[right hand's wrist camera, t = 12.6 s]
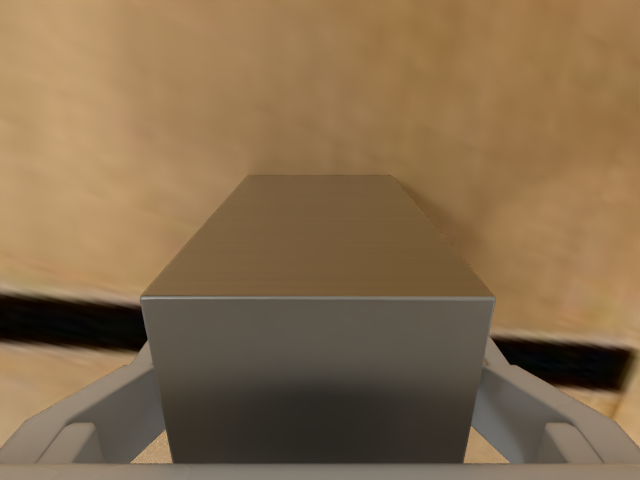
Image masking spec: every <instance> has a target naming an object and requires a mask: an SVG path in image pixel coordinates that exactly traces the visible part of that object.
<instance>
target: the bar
mask: <svg viewBox="0 0 640 480" xmlns="http://www.w3.org/2000/svg"><path fill="white" fill-rule="evenodd" d="M495 301H496V299H495V296H494V295H493V294H492V292H491V291H490V290H489V289H488V288H487V287H486V285H485V284H484V283H483V282H482V281H481V280H480V278H479V277H478V276H477V275H476V274H475V273H474V271H473V270H472V269H471V268H470V267H469V265H468V264H467V263H466V262H465V261H464V260H463V258H462V257H461V256H460V255H459V254H458V253H457V251H456V250H455V249H454V248H453V247H452V246H451V244H450V243H449V242H448V241H447V240H446V239H445V237H444V236H443V235H442V234H441V233H440V232H439V230H438V229H437V228H436V227H435V226H434V225H433V223H432V222H431V221H430V220H429V219H428V218H427V216H426V215H425V214H424V213H423V212H422V211H421V209H420V208H419V207H418V206H417V205H416V204H415V202H414V201H413V200H412V199H411V198H410V197H409V195H408V194H407V193H406V192H405V191H404V190H403V188H402V187H401V186H400V185H399V184H398V183H397V181H396V180H395V179H394V178H393V177H392V176H391V175H248V176H247V177H246V178H245V179H244V180H243V181H242V182H241V183H240V184H239V186H238V187H237V188H236V189H235V190H234V191H233V192H232V193H231V195H230V196H229V197H228V198H227V199H226V200H225V201H224V202H223V204H222V205H221V206H220V207H219V208H218V209H217V210H216V211H215V213H214V214H213V215H212V216H211V217H210V218H209V219H208V220H207V222H206V223H205V224H204V225H203V226H202V227H201V228H200V229H199V231H198V232H197V233H196V234H195V235H194V236H193V237H192V238H191V240H190V241H189V242H188V243H187V244H186V245H185V246H184V247H183V249H182V250H181V251H180V252H179V253H178V254H177V255H176V256H175V258H174V259H173V260H172V261H171V262H170V263H169V264H168V265H167V267H166V268H165V269H164V270H163V271H162V272H161V273H160V274H159V276H158V277H157V278H156V279H155V280H154V281H153V282H152V283H151V285H150V286H149V287H148V288H147V289H146V290H145V291H144V292H143V294H142V295H141V297H140V303H141V308H142V313H143V318H144V323H145V328H146V333H147V338H148V342H149V347H150V352H151V357H152V362H153V367H154V372H155V377H156V382H157V387H158V392H159V397H160V402H161V407H162V412H163V417H164V422H165V427H166V432H167V437H168V442H169V447H170V452H171V457H172V462H173V464H264V463H463V462H464V457H465V452H466V447H467V442H468V437H469V432H470V427H471V422H472V417H473V412H474V407H475V402H476V397H477V392H478V387H479V382H480V377H481V372H482V367H483V362H484V357H485V351H486V346H487V341H488V336H489V331H490V326H491V321H492V316H493V311H494V306H495Z"/></svg>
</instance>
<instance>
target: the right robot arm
mask: <svg viewBox="0 0 640 480" xmlns="http://www.w3.org/2000/svg"><path fill="white" fill-rule="evenodd" d="M471 426H472V427H473V428H474V429H475V430H476V431H477V432H478V433H479V434H480V435H481V436H483V437H484V438H485V439H486V440H487V441H488V442H489V443H490V444H491V445H492V446H493V447H494V448H495V449H496V450H497V451H498V452H499V453H500V454H502V455H503V456H504V457H505V458H506V459H507V460H508V461H509V462H510V463H511V464H500V463H264V464H129V463H130V462H131V461H132V460H133V459H134V458H135V457H137V456H138V455H139V454H140V453H141V452H142V451H143V450H144V449H145V448H146V447H147V446H148V445H149V444H150V443H151V442H152V441H153V440H155V439H156V438H157V437H158V436H159V435H160V434H161V433H162V432H163V431H164V430H165V429H166V427H165V422H164V417H163V412H162V407H161V402H160V397H159V392H158V387H157V382H156V377H155V372H154V367H153V362H152V357H151V352H150V347H149V342H148V340H147V342H146V343H145V345H144V346H143V348H142V349H141V350H140V352H139V353H138V355H137V356H136V357H135V359H134V360H133V362H132V363H131V365H124V366H122V367H120V368H119V369H117V370H115V371H113V372H111V373H110V374H108V375H106V376H104V377H103V378H101V379H99V380H97V381H95V382H94V383H92V384H90V385H88V386H86V387H85V388H83V389H81V390H79V391H78V392H76V393H74V394H72V395H70V396H69V397H67V398H65V399H63V400H62V401H60V402H58V403H56V404H54V405H53V406H51V407H49V408H47V409H45V410H44V411H42V412H40V413H38V414H37V415H35V416H33V417H31V418H29V419H28V420H26V421H25V422H24V423H23V424H22V425H21V426H20V427H19V428H18V429H17V430H16V432H15V433H14V434H13V435H12V436H11V437H10V438H9V439H8V440H7V442H6V443H5V444H4V445H3V446H2V447H1V448H0V480H640V448H639V447H638V446H637V445H636V444H635V442H634V441H633V440H632V439H631V438H630V437H629V436H628V435H627V434H626V432H625V431H624V430H623V429H622V428H621V427H620V426H619V425H618V424H617V422H616V421H614V420H612V419H610V418H609V417H607V416H605V415H603V414H601V413H600V412H598V411H596V410H594V409H593V408H591V407H589V406H587V405H585V404H584V403H582V402H580V401H578V400H577V399H575V398H573V397H571V396H569V395H568V394H566V393H564V392H562V391H561V390H559V389H557V388H555V387H553V386H552V385H550V384H548V383H546V382H545V381H543V380H541V379H539V378H537V377H536V376H534V375H532V374H530V373H529V372H527V371H525V370H523V369H521V368H520V367H518V366H516V365H509V363H508V362H507V360H506V359H505V358H504V356H503V355H502V353H501V352H500V350H499V349H498V348H497V346H496V345H495V343H494V342H493V341H492V339H491V338H490V336H488V341H487V346H486V351H485V357H484V362H483V367H482V372H481V377H480V382H479V387H478V392H477V397H476V402H475V407H474V412H473V417H472V422H471Z"/></svg>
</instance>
